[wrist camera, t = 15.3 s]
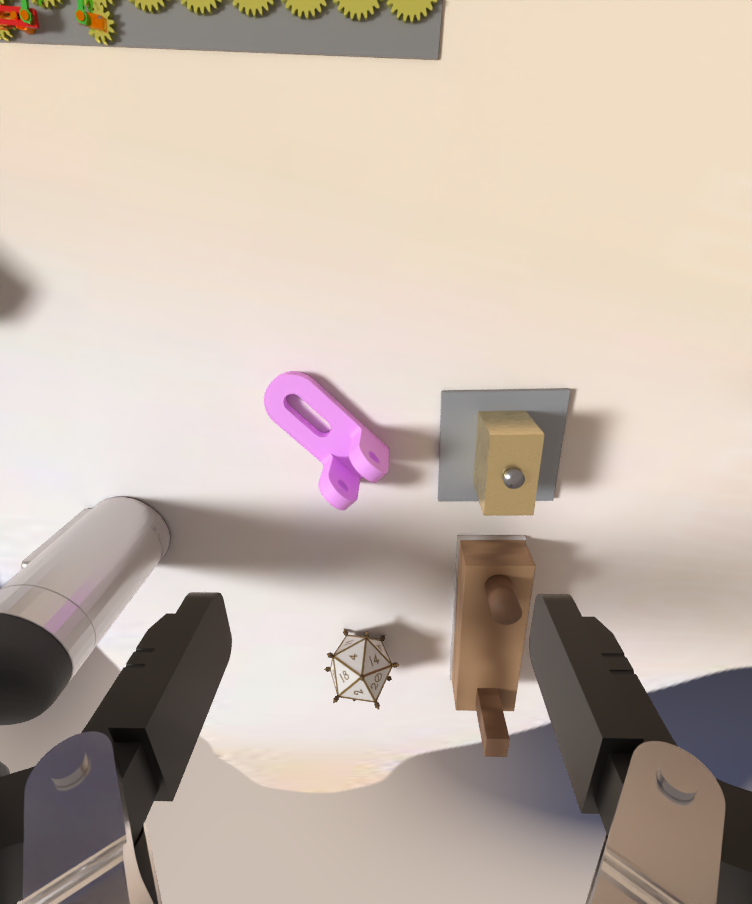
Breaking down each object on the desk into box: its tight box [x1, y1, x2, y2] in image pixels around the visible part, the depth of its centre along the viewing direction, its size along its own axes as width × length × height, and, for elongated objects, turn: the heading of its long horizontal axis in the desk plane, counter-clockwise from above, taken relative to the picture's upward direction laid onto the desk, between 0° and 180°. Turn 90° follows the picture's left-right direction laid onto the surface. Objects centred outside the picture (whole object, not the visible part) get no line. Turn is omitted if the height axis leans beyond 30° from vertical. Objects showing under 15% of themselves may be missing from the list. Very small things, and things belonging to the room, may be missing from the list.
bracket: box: [264, 371, 389, 510], centre depth 42 cm, size 13×6×7 cm, turn 45°
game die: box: [324, 629, 399, 709], centre depth 53 cm, size 9×8×10 cm
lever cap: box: [473, 411, 545, 515], centre depth 42 cm, size 4×8×7 cm, turn 2°
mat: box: [438, 388, 570, 501], centre depth 45 cm, size 12×12×1 cm
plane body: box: [450, 535, 535, 757], centre depth 49 cm, size 7×22×11 cm, turn 2°
